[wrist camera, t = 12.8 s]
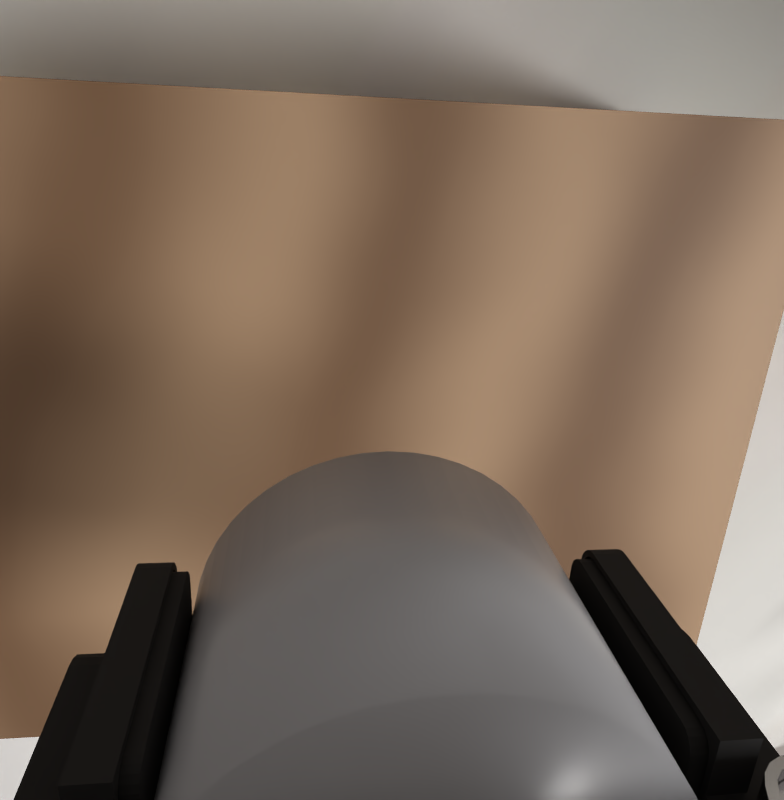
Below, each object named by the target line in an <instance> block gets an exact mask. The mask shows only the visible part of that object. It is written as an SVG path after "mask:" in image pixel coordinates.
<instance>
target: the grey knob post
mask: <svg viewBox="0 0 784 800" xmlns="http://www.w3.org/2000/svg"><path fill="white" fill-rule="evenodd" d="M154 800H698V799H697V797H696V795H695V793H694V792H693V790H692V788H691V787H690V785H689V783H688V781H687V780H686V778H685V776H684V775H683V773H682V771H681V770H680V768H679V766H678V764H677V763H676V761H675V759H674V758H673V756H672V754H671V753H670V751H669V749H668V747H667V746H666V744H665V742H664V741H663V739H662V737H661V735H660V734H659V732H658V730H657V729H656V727H655V725H654V724H653V722H652V720H651V718H650V717H649V715H648V713H647V712H646V710H645V708H644V706H643V705H642V703H641V701H640V700H639V698H638V696H637V695H636V693H635V691H634V689H633V688H632V686H631V684H630V683H629V681H628V679H627V678H626V676H625V674H624V672H623V671H622V669H621V667H620V666H619V664H618V662H617V660H616V659H615V657H614V655H613V654H612V652H611V650H610V649H609V647H608V645H607V643H606V642H605V640H604V638H603V637H602V635H601V633H600V631H599V630H598V628H597V626H596V625H595V623H594V621H593V620H592V618H591V616H590V614H589V613H588V611H587V609H586V608H585V606H584V604H583V603H582V601H581V599H580V597H579V596H578V594H577V592H576V591H575V589H574V587H573V585H572V584H571V582H570V580H569V579H568V577H567V575H566V574H565V572H564V570H563V568H562V567H561V565H560V563H559V562H558V560H557V558H556V556H555V555H554V553H553V551H552V550H551V548H550V546H549V545H548V543H547V541H546V539H545V538H544V536H543V534H542V533H541V531H540V529H539V528H538V526H537V525H536V523H535V521H534V520H533V518H532V516H531V515H530V514H529V513H528V511H527V510H526V509H525V508H524V507H523V506H522V504H521V503H520V502H519V501H518V500H517V499H516V498H515V497H514V496H513V495H511V494H510V493H509V492H508V491H507V490H506V489H504V488H503V487H502V486H501V485H499V484H498V483H496V482H495V481H493V480H492V479H490V478H488V477H487V476H485V475H484V474H482V473H480V472H478V471H476V470H473V469H471V468H469V467H467V466H465V465H463V464H460V463H457V462H453V461H450V460H447V459H444V458H441V457H437V456H431V455H425V454H419V453H414V452H394V451H385V452H370V453H360V454H355V455H350V456H344V457H339V458H335V459H332V460H329V461H326V462H322V463H319V464H316V465H313V466H310V467H308V468H306V469H304V470H302V471H299V472H297V473H295V474H293V475H290V476H288V477H287V478H285V479H283V480H282V481H280V482H278V483H277V484H275V485H274V486H272V487H270V488H269V489H267V490H266V491H264V492H263V493H262V494H261V495H259V496H258V497H257V498H256V499H254V500H253V501H252V502H251V503H249V504H248V505H247V506H246V507H245V508H244V509H243V510H242V511H241V512H240V513H239V514H238V515H237V516H236V517H235V518H234V519H233V521H232V522H231V523H230V524H229V525H228V527H227V528H226V530H225V531H224V532H223V534H222V535H221V536H220V538H219V539H218V541H217V542H216V544H215V546H214V548H213V550H212V552H211V554H210V555H209V557H208V559H207V561H206V564H205V567H204V570H203V573H202V576H201V578H200V582H199V586H198V591H197V596H196V601H195V606H194V610H193V615H192V620H191V625H190V630H189V634H188V639H187V644H186V649H185V654H184V658H183V663H182V668H181V673H180V678H179V682H178V687H177V692H176V697H175V702H174V706H173V711H172V716H171V721H170V726H169V730H168V735H167V740H166V745H165V750H164V754H163V759H162V764H161V769H160V773H159V778H158V783H157V788H156V793H155V797H154Z"/></svg>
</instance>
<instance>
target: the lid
mask: <svg viewBox="0 0 784 800" xmlns="http://www.w3.org/2000/svg"><path fill="white" fill-rule="evenodd" d="M783 310H784V120H779V119H761V118H743V117H725V116H707V115H689V114H671V113H653V112H635V111H617V110H599V109H581V108H563V107H545V106H527V105H509V104H491V103H473V102H455V101H437V100H420V99H402V98H384V97H366V96H348V95H330V94H312V93H294V92H276V91H258V90H240V89H222V88H204V87H186V86H168V85H150V84H132V83H114V82H96V81H78V80H60V79H42V78H25V77H7V76H0V739H5V738H22V737H40V735H41V732H42V730H43V727H44V725H45V723H46V720H47V718H48V715H49V713H50V710H51V708H52V706H53V703H54V701H55V698H56V696H57V694H58V691H59V689H60V686H61V684H62V681H63V679H64V677H65V674H66V672H67V669H68V667H69V665H70V663H71V661H72V659H73V658H74V657H75V656H76V655H77V654H96V653H105V651H106V649H107V646H108V643H109V640H110V637H111V634H112V632H113V629H114V626H115V623H116V620H117V618H118V615H119V612H120V609H121V606H122V604H123V601H124V598H125V595H126V592H127V589H128V587H129V584H130V581H131V578H132V575H133V573H134V570H135V567H136V565H137V564H139V563H167V562H175V564H176V567H177V572H183V571H188V572H189V574H190V583H191V599H192V614H193V610H194V606H195V601H196V596H197V591H198V586H199V582H200V578H201V576H202V573H203V570H204V567H205V564H206V561H207V559H208V557H209V555H210V554H211V552H212V550H213V548H214V546H215V544H216V542H217V541H218V539H219V538H220V536H221V535H222V534H223V532H224V531H225V530H226V528H227V527H228V525H229V524H230V523H231V522H232V521H233V519H234V518H235V517H236V516H237V515H238V514H239V513H240V512H241V511H242V510H243V509H244V508H245V507H246V506H247V505H248V504H249V503H251V502H252V501H253V500H254V499H256V498H257V497H258V496H259V495H261V494H262V493H263V492H264V491H266V490H267V489H269V488H270V487H272V486H274V485H275V484H277V483H278V482H280V481H282V480H283V479H285V478H287V477H288V476H290V475H293V474H295V473H297V472H299V471H302V470H304V469H306V468H308V467H310V466H313V465H316V464H319V463H322V462H326V461H329V460H332V459H335V458H339V457H344V456H350V455H355V454H360V453H370V452H385V451H394V452H414V453H419V454H425V455H431V456H437V457H441V458H444V459H447V460H450V461H453V462H457V463H460V464H463V465H465V466H467V467H469V468H471V469H473V470H476V471H478V472H480V473H482V474H484V475H485V476H487V477H488V478H490V479H492V480H493V481H495V482H496V483H498V484H499V485H501V486H502V487H503V488H504V489H506V490H507V491H508V492H509V493H510V494H511V495H513V496H514V497H515V498H516V499H517V500H518V501H519V502H520V503H521V504H522V506H523V507H524V508H525V509H526V510H527V511H528V513H529V514H530V515H531V516H532V518H533V520H534V521H535V523H536V525H537V526H538V528H539V529H540V531H541V533H542V534H543V536H544V538H545V539H546V541H547V543H548V545H549V546H550V548H551V550H552V551H553V553H554V555H555V556H556V558H557V560H558V562H559V563H560V565H561V567H562V568H563V570H564V572H565V574H566V575H567V577H568V579H569V578H570V572H571V566H572V563H573V561H574V560H575V559H581V558H582V555H583V553H584V552H585V551H586V550H601V549H620V550H622V551H623V552H624V553H625V554H626V556H627V557H628V558H629V560H630V561H631V562H632V564H633V565H634V566H635V568H636V569H637V570H638V572H639V573H640V574H641V576H642V577H643V578H644V580H645V581H646V582H647V584H648V585H649V586H650V588H651V589H652V590H653V592H654V593H655V594H656V596H657V597H658V598H659V600H660V601H661V602H662V604H663V605H664V606H665V608H666V609H667V610H668V612H669V613H670V614H671V616H672V617H673V618H674V620H675V621H676V622H677V624H678V625H679V626H680V628H681V629H682V630H684V631H685V632H686V633H687V634H688V635H689V636H690V638H691V639H692V640H693V642H694V643H695V644H697V640H698V636H699V633H700V629H701V625H702V621H703V617H704V613H705V610H706V606H707V602H708V598H709V594H710V590H711V587H712V583H713V579H714V575H715V571H716V567H717V563H718V560H719V556H720V552H721V548H722V544H723V540H724V537H725V533H726V529H727V525H728V521H729V517H730V514H731V510H732V506H733V502H734V498H735V494H736V490H737V487H738V483H739V479H740V475H741V471H742V467H743V464H744V460H745V456H746V452H747V448H748V444H749V441H750V437H751V433H752V429H753V425H754V421H755V417H756V414H757V410H758V406H759V402H760V398H761V394H762V391H763V387H764V383H765V379H766V375H767V371H768V368H769V364H770V360H771V356H772V352H773V348H774V344H775V341H776V337H777V333H778V329H779V325H780V321H781V318H782V314H783Z"/></svg>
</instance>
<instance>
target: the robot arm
mask: <svg viewBox="0 0 784 800" xmlns="http://www.w3.org/2000/svg"><path fill="white" fill-rule="evenodd" d="M569 580H570V582H571V584H572V585H573V587H574V589H575V591H576V592H577V594H578V596H579V597H580V599H581V601H582V603H583V604H584V606H585V608H586V609H587V611H588V613H589V614H590V616H591V618H592V620H593V621H594V623H595V625H596V626H597V628H598V630H599V631H600V633H601V635H602V637H603V638H604V640H605V642H606V643H607V645H608V647H609V649H610V650H611V652H612V654H613V655H614V657H615V659H616V660H617V662H618V664H619V666H620V667H621V669H622V671H623V672H624V674H625V676H626V678H627V679H628V681H629V683H630V684H631V686H632V688H633V689H634V691H635V693H636V695H637V696H638V698H639V700H640V701H641V703H642V705H643V706H644V708H645V710H646V712H647V713H648V715H649V717H650V718H651V720H652V722H653V724H654V725H655V727H656V729H657V730H658V732H659V734H660V735H661V737H662V739H663V741H664V742H665V744H666V746H667V747H668V749H669V751H670V753H671V754H672V756H673V758H674V759H675V761H676V763H677V764H678V766H679V768H680V770H681V771H682V773H683V775H684V776H685V778H686V780H687V781H688V783H689V785H690V787H691V788H692V790H693V792H694V793H695V795H696V797H697V799H698V800H784V755H782V756H780V755H779V754H778V753H777V751H776V750H775V749H774V747H773V746H772V745H771V744H770V742H769V741H768V740H767V738H766V737H765V736H764V734H763V733H762V732H761V730H760V729H759V728H758V726H757V725H756V724H755V722H754V721H753V720H752V718H751V717H750V716H749V714H748V713H747V712H746V710H745V709H744V708H743V706H742V705H741V704H740V702H739V701H738V700H737V698H736V697H735V696H734V695H733V693H732V692H731V691H730V689H729V688H728V687H727V685H726V684H725V683H724V681H723V680H722V679H721V677H720V676H719V675H718V673H717V672H716V671H715V669H714V668H713V667H712V665H711V664H710V663H709V661H708V660H707V659H706V657H705V656H704V655H703V653H702V652H701V651H700V649H699V648H698V647H697V646H696V644H695V643H694V642H693V640H692V639H691V638H690V636H689V635H688V634H687V633H686V632H685V631H684V630H682V629H681V628H680V626H679V625H678V624H677V622H676V621H675V620H674V618H673V617H672V616H671V614H670V613H669V612H668V610H667V609H666V608H665V606H664V605H663V604H662V602H661V601H660V600H659V598H658V597H657V596H656V594H655V593H654V592H653V590H652V589H651V588H650V586H649V585H648V584H647V582H646V581H645V580H644V578H643V577H642V576H641V574H640V573H639V572H638V570H637V569H636V568H635V566H634V565H633V564H632V562H631V561H630V560H629V558H628V557H627V556H626V554H625V553H624V552H623V551H622V550H620V549H601V550H586V551H585V552H584V553H583V555H582V558H581V559H575V560H574V561H573V563H572V566H571V572H570V578H569ZM192 615H193V614H192V599H191V583H190V574H189V572H188V571H183V572H177V567H176V564H175V562H167V563H139V564H137V565H136V567H135V570H134V573H133V575H132V578H131V581H130V584H129V587H128V589H127V592H126V595H125V598H124V601H123V604H122V606H121V609H120V612H119V615H118V618H117V620H116V623H115V626H114V629H113V632H112V634H111V637H110V640H109V643H108V646H107V649H106V651H105V653H96V654H77V655H76V656H75V657H74V658H73V659H72V661H71V663H70V665H69V667H68V669H67V672H66V674H65V677H64V679H63V681H62V684H61V686H60V689H59V691H58V694H57V696H56V698H55V701H54V703H53V706H52V708H51V710H50V713H49V715H48V718H47V720H46V723H45V725H44V727H43V730H42V732H41V735H40V737H39V740H38V742H37V744H36V747H35V749H34V752H33V754H32V756H31V759H30V761H29V764H28V766H27V769H26V771H25V773H24V776H23V778H22V781H21V783H20V786H19V788H18V790H17V793H16V795H15V798H14V800H154V797H155V793H156V788H157V783H158V778H159V773H160V769H161V764H162V759H163V754H164V750H165V745H166V740H167V735H168V730H169V726H170V721H171V716H172V711H173V706H174V702H175V697H176V692H177V687H178V682H179V678H180V673H181V668H182V663H183V658H184V654H185V649H186V644H187V639H188V634H189V630H190V625H191V620H192Z"/></svg>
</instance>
